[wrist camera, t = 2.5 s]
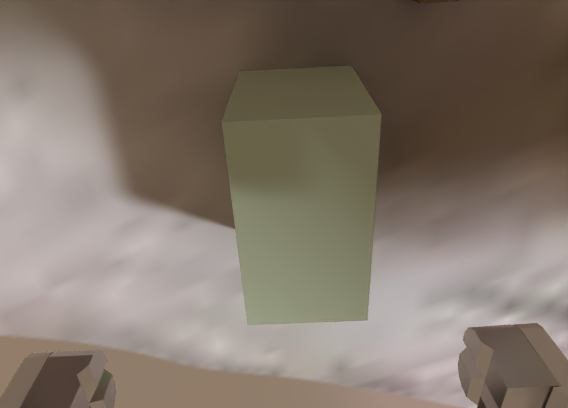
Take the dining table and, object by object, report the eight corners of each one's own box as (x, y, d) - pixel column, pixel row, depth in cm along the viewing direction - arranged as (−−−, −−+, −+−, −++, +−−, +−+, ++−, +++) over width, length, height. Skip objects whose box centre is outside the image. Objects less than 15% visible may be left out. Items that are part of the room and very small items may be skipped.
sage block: (351, 64, 17) (381, 114, 12) (346, 230, 21) (367, 320, 16) (239, 70, 17) (221, 122, 12) (255, 234, 21) (247, 325, 16)
